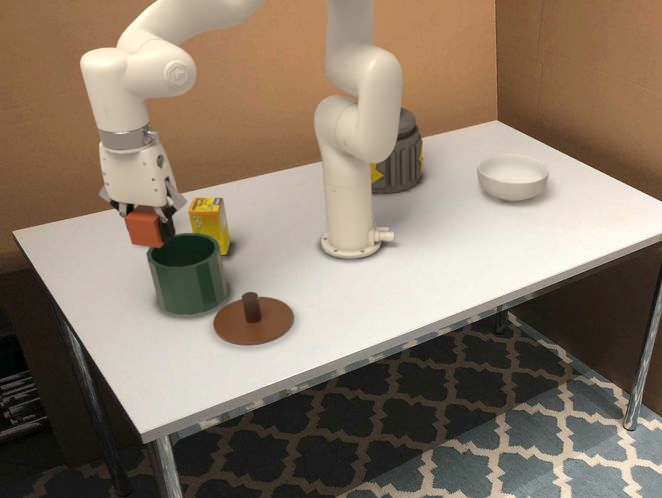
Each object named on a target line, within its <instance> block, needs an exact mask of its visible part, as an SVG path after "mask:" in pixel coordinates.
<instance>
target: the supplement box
mask: <svg viewBox="0 0 662 498" xmlns="http://www.w3.org/2000/svg"><path fill="white" fill-rule="evenodd" d="M224 201H225V200H224V197H209V196H208V197H205V196H204V197H203V196H202V197H200V196H199V197H198V196H197V197H196V196H195V197H193V198H192V201H191V204H190V205H189V208H188V210H187V211H188V212H187V213H188V216H189V221H190V227H191V231H192V232H191V233H200V234H204V235H208V236H211V237H212V238H214V239H215V240H217V241H218V244H219V247H220V251H221V256H222V257H227V258H228V256H229V252H230V248H231V245H232V242H231V236H230V230H229V225H228V220H227V214H226V208H225V203H224Z"/></svg>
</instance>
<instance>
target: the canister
mask: <svg viewBox="0 0 662 498" xmlns="http://www.w3.org/2000/svg"><path fill="white" fill-rule="evenodd" d="M146 259H147V263H148V266H149V267H148V268H149V270H150V271H149V272H150V274H151V278H152V282H153V286H154V289H155V290H154V291H155V294H156V298H157V301H158V305H159V307H161V308H162V309H163V310H164V311H165V312H167V313H171V314H175V315H179V316H180V315H183V316H184V315H185V316H192V315H197V314H203V313H207V312H209V311H211V310H214V309H215V308H218V307H219V306H220V305H222V303H223V302H224V301H226V298H227V296H228V294H229V289H228V285H227V284H228V283H227V278H226V272H225V267H224V263H223V256H221V251H220V247H219V244H218V241H217V240H215V239H214V238H212V237H211V236H208V235H204V234H200V233H193V232H183V233H175V236H174V237H173V238H172V239H171V240H170V241H169V242H168V243H167V244H165V243H164V244H163V245H162V246H161V247H160V248H156V247H149V248H148V249H147V251H146Z"/></svg>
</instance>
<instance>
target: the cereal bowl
mask: <svg viewBox="0 0 662 498" xmlns="http://www.w3.org/2000/svg"><path fill="white" fill-rule="evenodd" d="M476 169H477V172H476V173H477V180H478V182H479V184H480V186H481V189H483V190H484V192H486V193H487V194H488V195H490V196H493V197H495V198H497V199H499V200H501V201H504V202H509V203H512V202H513V203H516V202H517V203H518V202H522V201H524V200H528V199H531V198H534V197H536V196H537V195H539V194H540V193H541V192H543V190H544V189H545V187H546V186H547V184H548V180H549V175H550V169H549V167H548V166H547V165H546V163H544V162H543V161H542V160H540V159H538V158H535V157H533V156H529V155H525V154H520V153H497V154H493V155H489V156H487V157H484V158H483V159H481V160H479V162H478V163H477V168H476Z"/></svg>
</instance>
